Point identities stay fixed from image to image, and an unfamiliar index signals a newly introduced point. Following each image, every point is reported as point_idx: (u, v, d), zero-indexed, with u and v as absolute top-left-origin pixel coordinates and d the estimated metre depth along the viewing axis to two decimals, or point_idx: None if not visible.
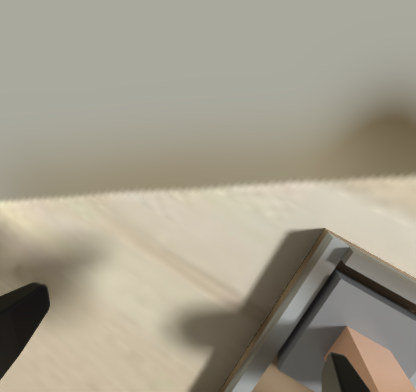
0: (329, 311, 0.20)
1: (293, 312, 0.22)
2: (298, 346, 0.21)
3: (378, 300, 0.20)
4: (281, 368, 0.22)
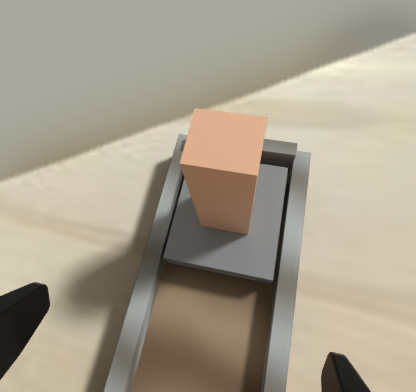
0: None
1: (166, 203, 0.22)
2: (175, 225, 0.21)
3: None
4: (165, 254, 0.20)
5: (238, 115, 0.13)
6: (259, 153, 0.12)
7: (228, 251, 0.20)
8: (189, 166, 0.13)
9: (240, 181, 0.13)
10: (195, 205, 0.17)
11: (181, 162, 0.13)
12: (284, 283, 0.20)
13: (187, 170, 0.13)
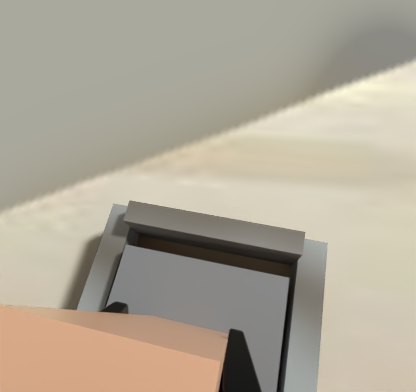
0: (121, 301, 0.13)
1: None
2: None
3: (184, 257, 0.13)
4: None
5: (123, 345, 0.04)
6: None
7: None
8: None
9: None
10: None
11: None
12: None
13: None
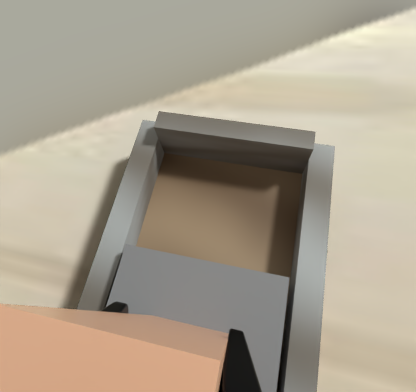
0: (121, 301, 0.13)
1: (117, 222, 0.15)
2: None
3: (184, 257, 0.13)
4: None
5: (123, 344, 0.04)
6: None
7: None
8: None
9: None
10: None
11: None
12: (298, 355, 0.12)
13: None
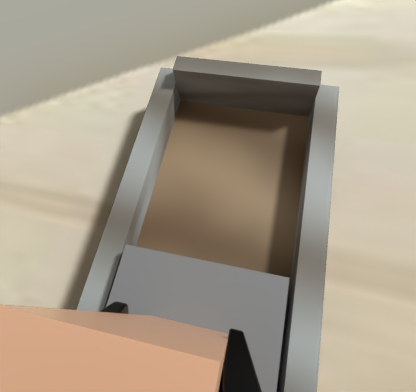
0: (121, 301, 0.13)
1: (140, 154, 0.16)
2: None
3: (184, 257, 0.13)
4: None
5: (122, 345, 0.04)
6: None
7: None
8: None
9: None
10: None
11: None
12: (307, 260, 0.14)
13: None
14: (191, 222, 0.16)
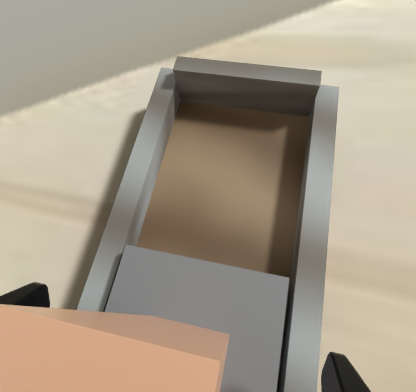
0: (121, 301, 0.13)
1: (140, 154, 0.16)
2: None
3: (184, 257, 0.13)
4: None
5: (123, 345, 0.04)
6: None
7: None
8: None
9: None
10: None
11: None
12: (307, 259, 0.14)
13: None
14: (191, 222, 0.16)
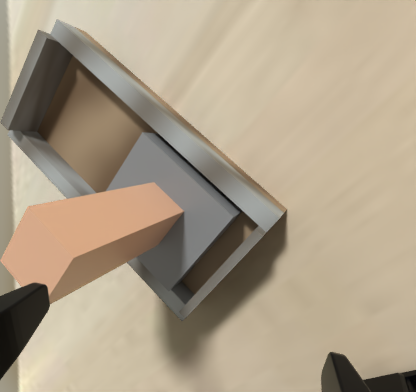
0: None
1: (54, 176, 0.24)
2: (147, 265, 0.21)
3: (110, 184, 0.21)
4: (167, 288, 0.21)
5: (17, 230, 0.12)
6: (55, 240, 0.11)
7: (189, 237, 0.19)
8: None
9: (81, 262, 0.12)
10: (119, 265, 0.17)
11: None
12: (144, 112, 0.20)
13: (53, 299, 0.13)
14: (109, 167, 0.24)
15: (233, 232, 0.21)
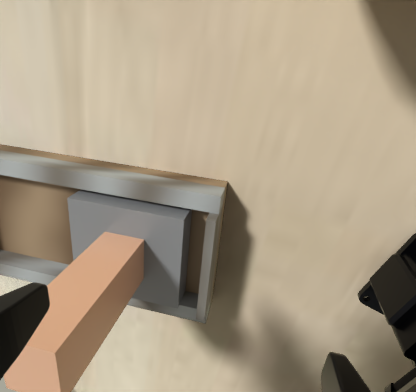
0: None
1: (27, 276, 0.25)
2: (147, 298, 0.22)
3: (73, 254, 0.22)
4: (174, 307, 0.22)
5: None
6: (32, 348, 0.12)
7: (163, 256, 0.20)
8: None
9: (68, 348, 0.13)
10: (116, 319, 0.18)
11: None
12: (59, 179, 0.21)
13: (69, 389, 0.14)
14: (66, 238, 0.25)
15: (198, 227, 0.22)
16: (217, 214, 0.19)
